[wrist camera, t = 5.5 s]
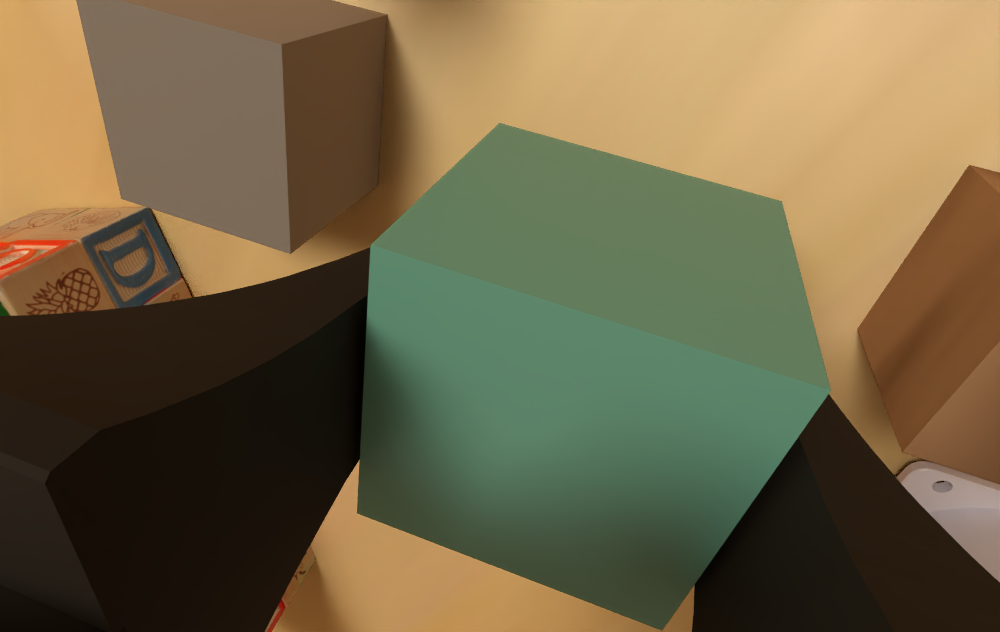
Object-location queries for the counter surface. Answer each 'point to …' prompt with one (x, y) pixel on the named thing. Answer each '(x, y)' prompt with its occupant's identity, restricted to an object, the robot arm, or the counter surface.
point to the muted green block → (582, 368)
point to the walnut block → (945, 334)
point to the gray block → (241, 109)
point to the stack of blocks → (95, 277)
